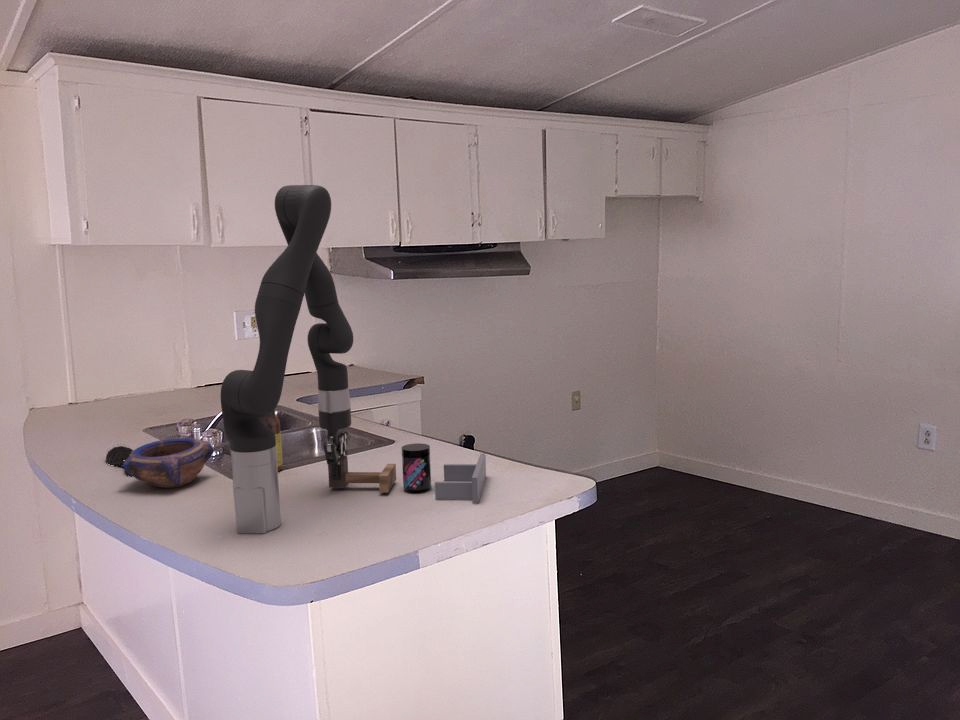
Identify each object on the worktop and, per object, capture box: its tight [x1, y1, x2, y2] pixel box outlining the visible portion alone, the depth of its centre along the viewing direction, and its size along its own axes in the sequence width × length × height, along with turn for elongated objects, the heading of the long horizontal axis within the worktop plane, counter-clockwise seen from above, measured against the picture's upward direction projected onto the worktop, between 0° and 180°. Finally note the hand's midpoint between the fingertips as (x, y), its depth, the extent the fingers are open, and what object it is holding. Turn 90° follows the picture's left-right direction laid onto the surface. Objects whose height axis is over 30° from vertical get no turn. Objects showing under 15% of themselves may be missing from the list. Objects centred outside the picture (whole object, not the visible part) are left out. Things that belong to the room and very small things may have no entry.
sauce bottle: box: [260, 409, 284, 472], centre depth 210 cm, size 6×6×20 cm
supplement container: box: [401, 442, 432, 494], centre depth 191 cm, size 7×7×10 cm
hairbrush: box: [105, 443, 134, 476], centre depth 220 cm, size 8×4×25 cm
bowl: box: [122, 437, 215, 489], centre depth 202 cm, size 18×18×10 cm
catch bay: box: [434, 453, 487, 504], centre depth 191 cm, size 20×10×6 cm, turn 174°
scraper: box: [327, 455, 397, 494], centre depth 193 cm, size 10×15×7 cm, turn 85°
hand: (338, 477), depth 194 cm, fingers closed on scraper, 3 cm apart
